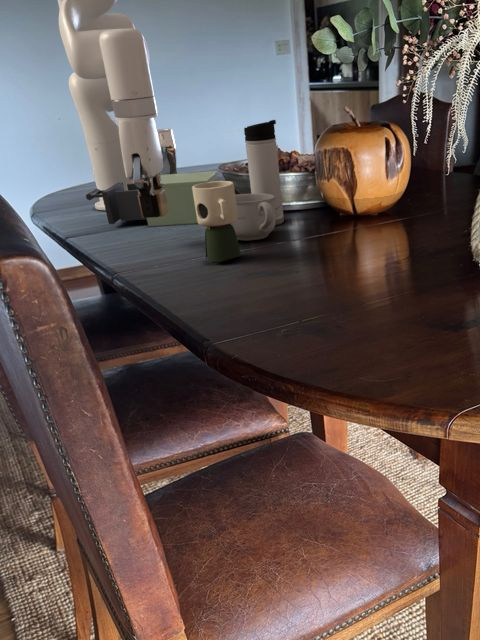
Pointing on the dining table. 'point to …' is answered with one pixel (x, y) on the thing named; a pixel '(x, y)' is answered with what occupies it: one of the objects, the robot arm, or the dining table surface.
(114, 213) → the drawer
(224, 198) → the character mug
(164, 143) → the beer glass
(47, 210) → the dining table surface
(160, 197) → the block
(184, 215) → the cabinet
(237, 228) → the teacup
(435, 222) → the dining table surface
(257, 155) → the travel mug
